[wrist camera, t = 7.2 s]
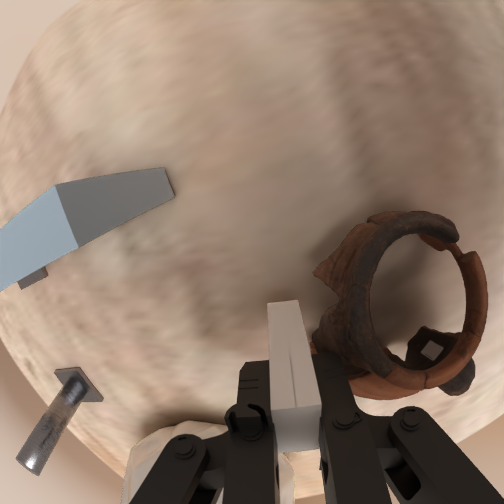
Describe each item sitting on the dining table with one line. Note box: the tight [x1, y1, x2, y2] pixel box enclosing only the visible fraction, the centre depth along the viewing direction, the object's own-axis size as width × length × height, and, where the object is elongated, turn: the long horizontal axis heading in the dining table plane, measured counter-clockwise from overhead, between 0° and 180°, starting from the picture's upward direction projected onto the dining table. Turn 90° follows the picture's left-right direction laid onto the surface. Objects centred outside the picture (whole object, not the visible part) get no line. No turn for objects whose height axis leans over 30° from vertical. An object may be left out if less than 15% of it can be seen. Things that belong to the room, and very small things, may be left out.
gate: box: [0, 167, 175, 291], centre depth 10 cm, size 14×2×9 cm, turn 110°
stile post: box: [16, 367, 104, 476], centre depth 14 cm, size 4×4×10 cm
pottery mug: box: [310, 211, 488, 400], centre depth 13 cm, size 12×10×8 cm
